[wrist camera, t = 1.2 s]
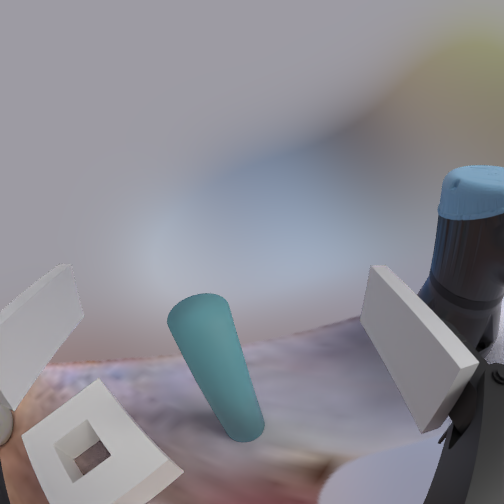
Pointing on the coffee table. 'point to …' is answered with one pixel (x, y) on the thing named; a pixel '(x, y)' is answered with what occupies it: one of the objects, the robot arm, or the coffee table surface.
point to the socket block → (86, 435)
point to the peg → (217, 363)
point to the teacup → (5, 424)
